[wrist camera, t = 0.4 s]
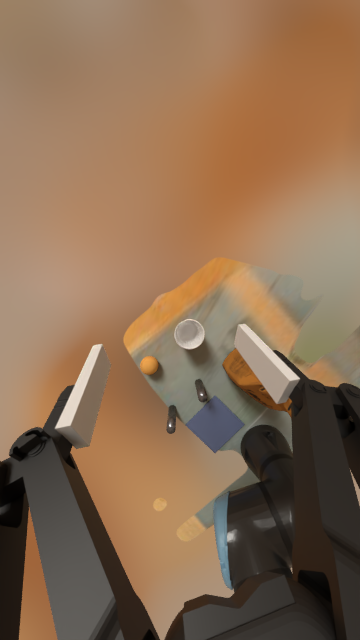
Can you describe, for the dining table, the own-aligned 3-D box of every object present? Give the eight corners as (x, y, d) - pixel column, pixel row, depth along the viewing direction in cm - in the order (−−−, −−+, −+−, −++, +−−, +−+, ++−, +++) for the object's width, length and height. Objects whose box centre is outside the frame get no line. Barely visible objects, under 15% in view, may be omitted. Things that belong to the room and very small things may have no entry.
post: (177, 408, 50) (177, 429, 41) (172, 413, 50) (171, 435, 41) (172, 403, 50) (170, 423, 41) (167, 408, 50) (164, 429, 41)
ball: (162, 362, 49) (160, 368, 44) (151, 374, 50) (147, 381, 44) (150, 350, 49) (147, 355, 44) (139, 362, 49) (134, 368, 44)
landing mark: (244, 424, 51) (244, 424, 50) (214, 452, 51) (214, 453, 51) (215, 395, 50) (215, 395, 50) (185, 424, 50) (185, 425, 50)
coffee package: (242, 389, 50) (292, 448, 28) (217, 363, 50) (247, 402, 28) (264, 368, 50) (331, 412, 28) (238, 342, 49) (286, 365, 27)
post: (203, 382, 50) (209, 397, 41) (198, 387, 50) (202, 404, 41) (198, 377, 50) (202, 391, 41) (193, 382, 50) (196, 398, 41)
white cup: (201, 321, 49) (207, 323, 39) (196, 344, 49) (200, 352, 39) (178, 315, 49) (178, 316, 39) (172, 339, 49) (171, 345, 39)
